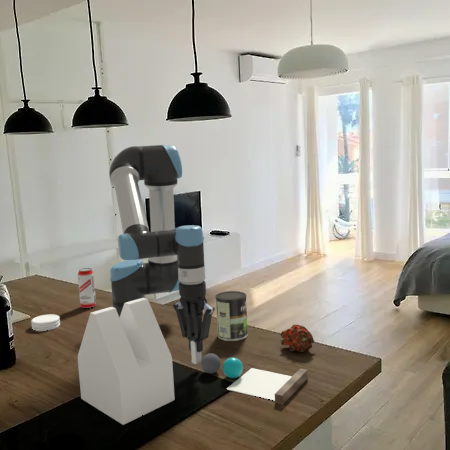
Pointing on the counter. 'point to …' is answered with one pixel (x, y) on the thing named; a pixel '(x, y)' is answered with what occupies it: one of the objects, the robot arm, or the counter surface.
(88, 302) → the beer can
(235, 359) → the teal ball
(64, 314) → the counter surface
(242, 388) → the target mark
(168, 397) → the white v-notch block
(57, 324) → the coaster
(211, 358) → the gray ball
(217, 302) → the coffee can
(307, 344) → the dragon fruit
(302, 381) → the stopper wall
